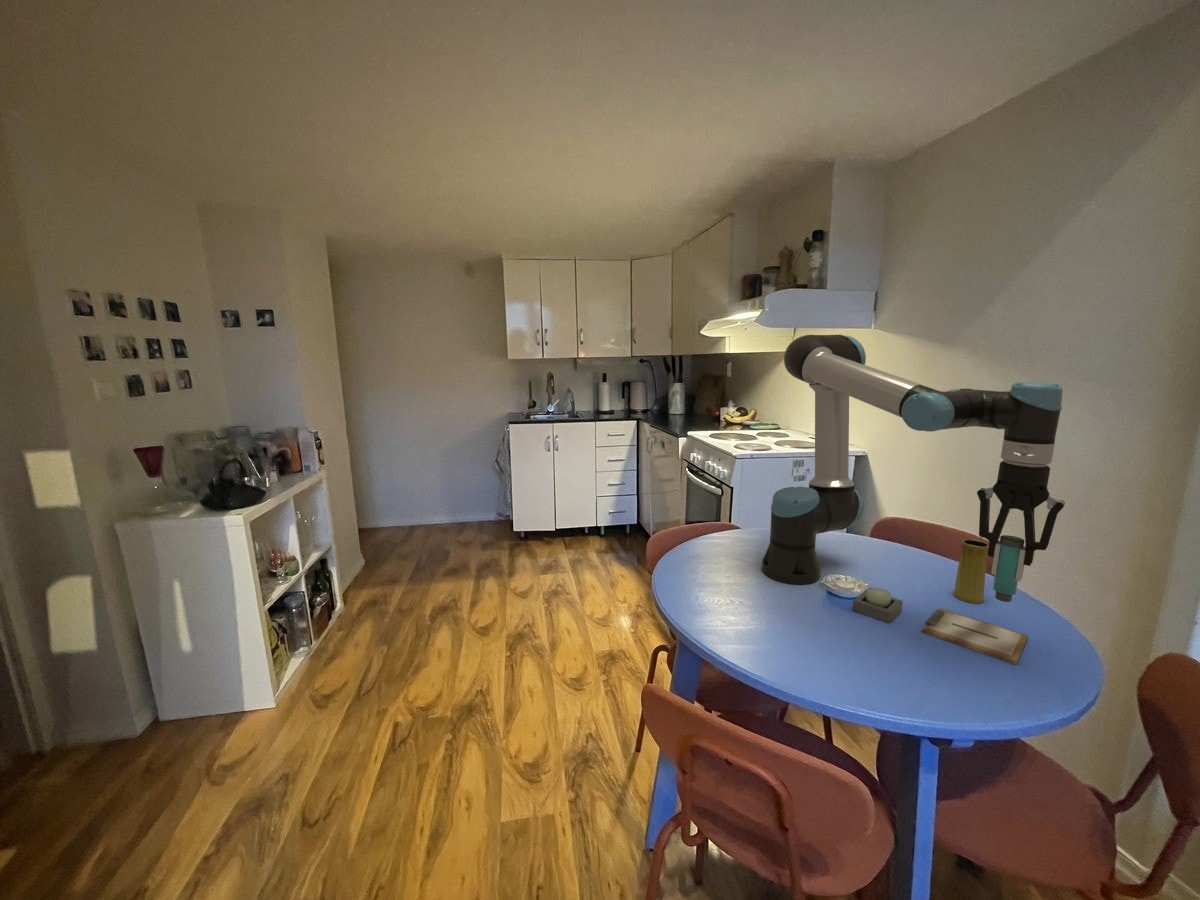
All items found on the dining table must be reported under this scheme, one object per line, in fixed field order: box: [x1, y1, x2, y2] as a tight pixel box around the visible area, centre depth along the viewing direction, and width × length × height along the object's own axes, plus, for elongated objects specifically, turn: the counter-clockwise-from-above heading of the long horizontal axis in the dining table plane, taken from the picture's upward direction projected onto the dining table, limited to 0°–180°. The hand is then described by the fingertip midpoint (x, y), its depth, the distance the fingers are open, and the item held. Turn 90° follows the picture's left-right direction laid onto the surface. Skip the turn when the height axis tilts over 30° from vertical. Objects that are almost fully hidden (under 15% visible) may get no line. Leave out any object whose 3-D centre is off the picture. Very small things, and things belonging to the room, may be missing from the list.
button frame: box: [852, 589, 904, 624], centre depth 117 cm, size 8×8×2 cm
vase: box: [952, 538, 989, 604], centre depth 121 cm, size 6×6×14 cm
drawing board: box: [921, 607, 1029, 666], centre depth 106 cm, size 16×13×1 cm
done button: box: [866, 586, 892, 609], centre depth 116 cm, size 5×5×3 cm
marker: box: [992, 535, 1025, 603], centre depth 100 cm, size 4×4×13 cm
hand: (1006, 575), depth 101 cm, fingers closed on marker, 3 cm apart
